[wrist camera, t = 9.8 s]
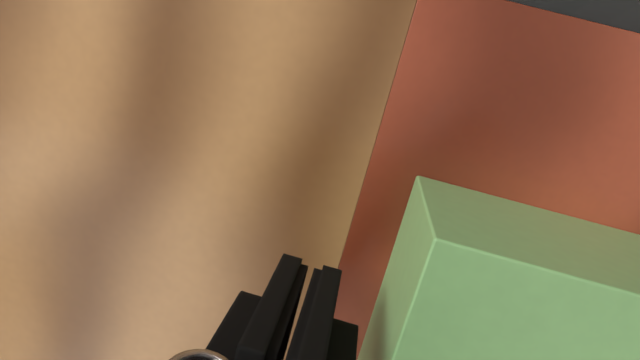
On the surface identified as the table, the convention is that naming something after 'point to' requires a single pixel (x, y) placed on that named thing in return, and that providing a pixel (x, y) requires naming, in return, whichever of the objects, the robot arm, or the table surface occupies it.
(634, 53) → the plate
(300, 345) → the robot arm
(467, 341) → the green block
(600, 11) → the table surface
